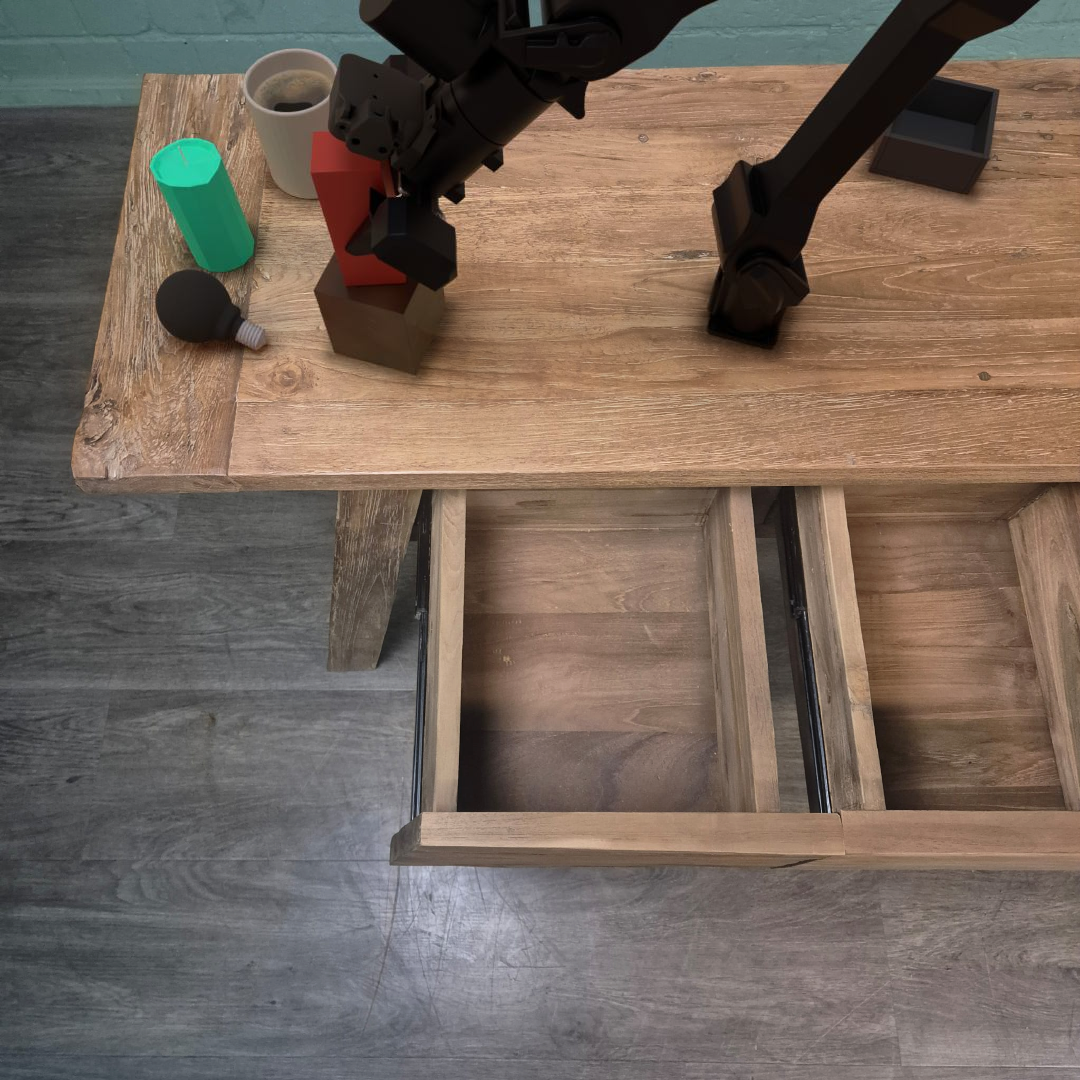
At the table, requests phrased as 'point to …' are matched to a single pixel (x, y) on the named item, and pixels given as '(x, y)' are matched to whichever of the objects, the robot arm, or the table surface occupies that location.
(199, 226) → the candle
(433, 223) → the robot arm
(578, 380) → the table surface
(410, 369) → the dark wooden block
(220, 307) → the light bulb
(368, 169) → the red rectangular block
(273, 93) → the mug
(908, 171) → the dark gray open box
